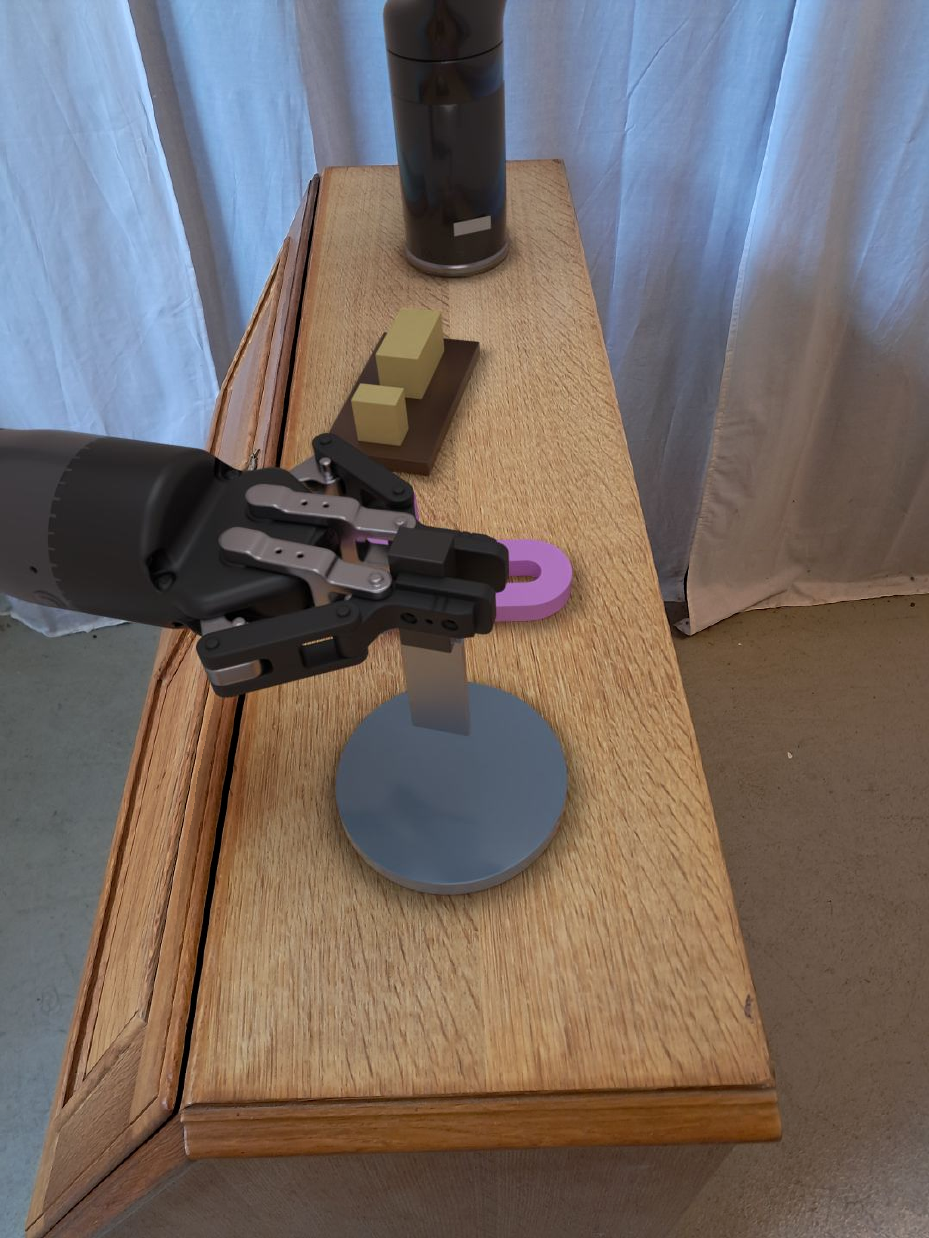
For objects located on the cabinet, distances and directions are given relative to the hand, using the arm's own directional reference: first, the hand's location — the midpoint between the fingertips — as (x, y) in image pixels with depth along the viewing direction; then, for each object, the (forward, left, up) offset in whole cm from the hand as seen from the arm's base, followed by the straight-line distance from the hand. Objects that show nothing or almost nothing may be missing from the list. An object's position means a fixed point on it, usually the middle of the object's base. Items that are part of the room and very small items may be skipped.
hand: (499, 589), depth 35 cm
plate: (0, -3, -16) cm, 16 cm away
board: (-31, -15, -16) cm, 38 cm away
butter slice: (-26, -15, -15) cm, 33 cm away
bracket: (-14, -6, -16) cm, 22 cm away
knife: (0, -3, -10) cm, 11 cm away
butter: (-34, -15, -15) cm, 40 cm away
